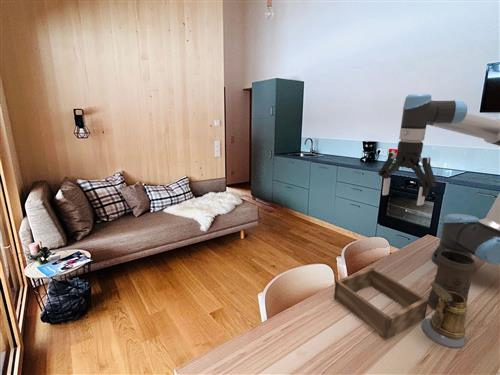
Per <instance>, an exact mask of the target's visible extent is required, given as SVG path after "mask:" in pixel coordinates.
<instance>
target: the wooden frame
mask: <svg viewBox="0 0 500 375" xmlns="http://www.w3.org/2000/svg"><path fill="white" fill-rule="evenodd" d="M334 284H335V286H334V294H333V299H334V300H336V301H337V302H338V303H340V304H341V305H342V306H343V307H345V308H346V309H347V310H348V311H349V312H351V313H352V314H353V315H354V316H356V317H357V318H358V319H360V321H362V322H364V323H365V324H366V325H367V326H368V327H370V328H371V329H372V330H374V332H376V333H377V334H378V335H380V336H381V337H382V338H383V339H385V341H386V340H388V339H390V338H392V337H394V336H396V335H397V334H399V333H402V332H403V331H404V330H406V329H408V328H410V327H412V326H414V325H415V324H417V323H419V322H420V321H423V320H425V319H426V314H427V311H428V305H429V304H428V301H429V300H428V298H426V297H424V296H423V295H421V294H419V293H418V292H416V291H414V290H412V289H411V288H409V287H407V286H405V285H403V284H402V283H400V282H398V281H397V280H394V279H393V278H391V277H390V276H388V275H386V274H385V273H383V272H381V271H379V270H377V269H376V268H374V267H370V268H368V269H365V270H362V271H359V272H357V273H354V274H352V275H348V276H346V277H343V278H341V279H338V280H335V283H334ZM369 287H372V288H374V289H375V290H376V291H379V293H381V294H383V295H385V297H388V298H389V299H391V300H392V301H394V302H396V303H397V304H398V305H400V307H401V306H402V307H403V308H402V309H400V310H398V311H396V312H395V313H392V314H389V315H387V314H386V313H385V312H384V311H382V310H380V309H379V308H378V307H377V306H375V305H374V304H373V303H371V302H370V301H369V300H366V299H365V298H364V297H363V296H361V295H360V294H358V293H357V292H359V291H362V290H364V289H366V288H369Z"/></svg>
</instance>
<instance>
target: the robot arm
mask: <svg viewBox="0 0 500 375" xmlns="http://www.w3.org/2000/svg"><path fill="white" fill-rule="evenodd" d="M427 126H431V127H435V128H438V129H443V130H446V131H450V132H454V133H459V134H464V135H468V136H470V137H475V138H479V139H482V140H484V142H486V143H487V144H492V145H495V146H498V147H500V118H497V119H492V118H487V117H484V116H480V115H475V114H472V113H468V105H467V104H466V102H465V101H463V100H456V99H455V100H432V95H431V94H429V93H414V94H413V93H411V94H408V95H407V96H405V99H404V102H403V107H402V116H401V124H400V130H399V138H398V139H399V140H400V141H398V143H397V144H398V145H397V150H396V151H397V153H396V152H389V153H388V155H387V159H386V160H385V162H384V164H382V167H381V168H380V170H379V172H378V173H377V174H378V176H380V177H381V178H382V180H381V186H382V196H387V195H388V196H389V192H390V186H391V177H390V176H392V175H393V174H394V173H395V172H396V171H397V170H398V169H399V168H406V169H411V170H412V171H413V172H414V174H415V176H416V177H417V179H418V181H419V183H420V184H421V186H419V190H418V197H417V201H416V206H423V205H425V204H424V203H425V199H426V197H428V195H429V192H430V188H432V187H436V186H437V181H436V178H435V175H434V172H433V168H432V165H431V157H430V156H427V157H425V156H424V157H422V152H423V147H424V142H423V141H425V137H426V136H425V135H426V131H427V130H426V129H427ZM395 159H396V160H397V161H396V162H394V161H395ZM420 163H421V164H422V166H421V164H420ZM392 164H393V165H392ZM422 169H423V170H422ZM441 229H442V230H441V234H440V239H439V244H438V245H437V247H436V248H435V249H434V251H433V252H432V255H431V261H432V262H433V263H434V264H436V265H437V266H438V264H439V261H438V255H439V253H440V252H441V251H445V250H450V251H455V252H459V253H462V254H465V255H467V256H469V257H471V258H472V259H473V260H474V257H476V258H477V259H478V260H482V261H484V262H485V263H488V264H491V265H500V192H499V193H498V195H497V197H496V198H495V200H494V203H492V206H491V207H490V209H489V211H488V213H487V214H486V216H485V218H482V219H481V218H479V217H477V216H475V215H469V214H463V213H449V214H446V215H445V217H444V220H443V222H442V228H441ZM473 256H474V257H473Z"/></svg>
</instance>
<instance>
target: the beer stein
mask: <svg viewBox="0 0 500 375" xmlns="http://www.w3.org/2000/svg"><path fill="white" fill-rule="evenodd" d="M438 261H439V264H438V265H437V269H436V274H435V276H434V279H433V282H435V283H438V284H440V285H441V286H443V287H444V288H445V289H446V290H447V291H451V292H455V293H458V294H460V295H461V296H463V297H464V298H465V299H466V301H467V302H468V299H469V297H468V296H469V293H470V288H471V284H472V276H473V273H474V270H475V269H476V261H475V259H474V258H473V259H472V258H471V257H469V256H467V255H465V254H462V253H459V252H455V251H450V250H445V251H441V252H440V253H439V255H438ZM439 298H440V297H439V295H438V294H437V293H436V292H435V291H434V290H433V288H432V287H431V289H430V291H429V296H428V298H427V299H428V300H429V301H428V305H429V307H430V308H431V309H433V310H434V311H435V310H436V308H437V305H438V303H439Z"/></svg>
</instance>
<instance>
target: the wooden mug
mask: <svg viewBox="0 0 500 375" xmlns="http://www.w3.org/2000/svg"><path fill="white" fill-rule="evenodd" d="M430 286H431V289H432V288H433V290H434V291H435V292H436V293H437V294H438V295H439V297H440V298H439V303H438V305H437V308H436V310H434V313H433V314H432V315H431V317H430V318H431V319H430V324H431V326H432V327H433V328H434V329H435V330H436V331H438V332H439V333H440V334H442V335H444V336H446V337H449V338H452V339H461V338H463V336H465V335H466V327H465V326H466V314H467V311H468V300H467V301H466V299H465V298H464V297H463V296H461V295H460V294H458V293H455V292H451V291H447V290H446V289H445V288H444V287H443V286H441V285H440V284H438V283H435V282H434V281H432V282H430Z"/></svg>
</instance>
